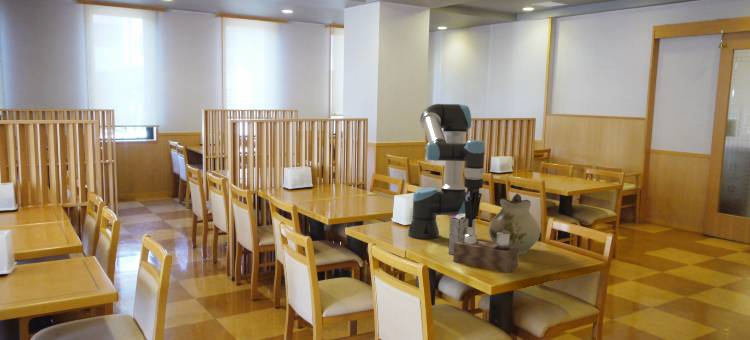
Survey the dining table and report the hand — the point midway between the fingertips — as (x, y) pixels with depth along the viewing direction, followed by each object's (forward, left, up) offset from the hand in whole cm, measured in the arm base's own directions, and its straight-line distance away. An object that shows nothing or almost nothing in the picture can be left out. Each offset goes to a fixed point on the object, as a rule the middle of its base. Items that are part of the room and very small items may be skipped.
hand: (470, 234), depth 237 cm
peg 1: (0, 0, -8) cm, 8 cm away
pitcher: (+8, +28, -12) cm, 32 cm away
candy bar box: (-10, +10, -12) cm, 19 cm away
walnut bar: (+7, 0, -12) cm, 13 cm away
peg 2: (+14, 0, -5) cm, 15 cm away
